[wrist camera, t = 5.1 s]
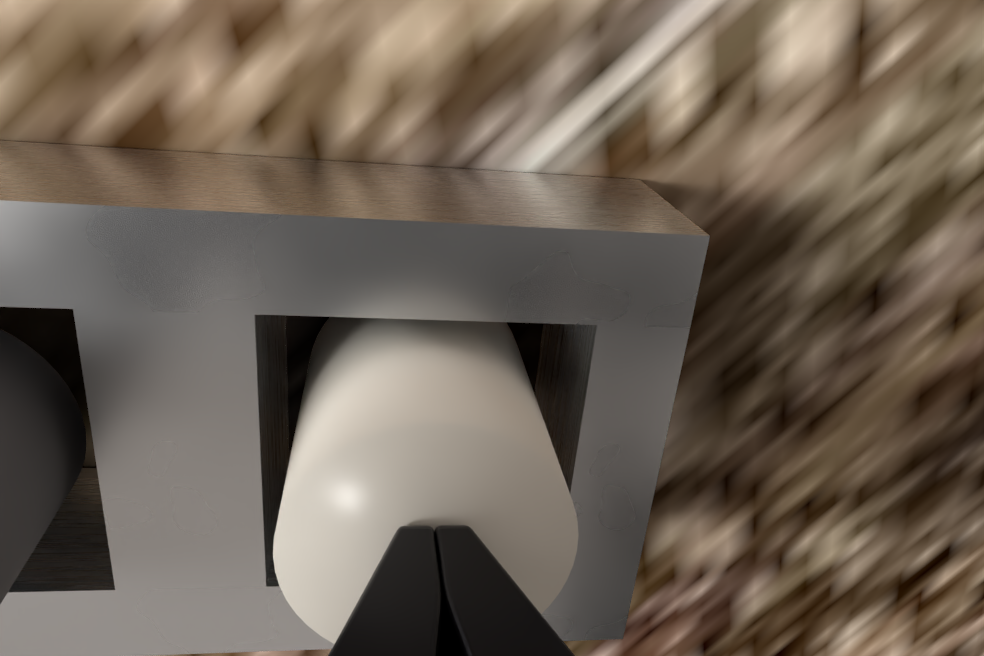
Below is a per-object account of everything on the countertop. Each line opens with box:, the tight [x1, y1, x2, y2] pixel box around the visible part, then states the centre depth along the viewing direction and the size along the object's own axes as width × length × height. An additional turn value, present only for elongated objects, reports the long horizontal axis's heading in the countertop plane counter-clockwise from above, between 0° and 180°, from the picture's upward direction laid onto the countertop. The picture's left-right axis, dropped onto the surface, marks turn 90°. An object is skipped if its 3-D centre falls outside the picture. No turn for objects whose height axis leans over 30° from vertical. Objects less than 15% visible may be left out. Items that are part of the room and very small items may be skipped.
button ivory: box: [273, 317, 578, 644], centre depth 11 cm, size 4×4×4 cm
